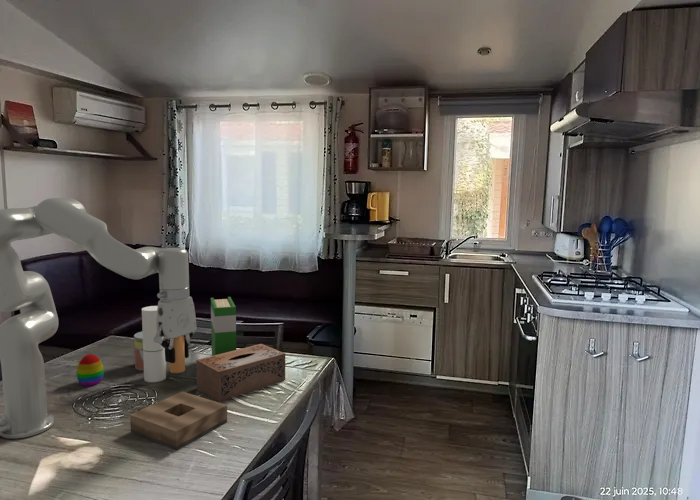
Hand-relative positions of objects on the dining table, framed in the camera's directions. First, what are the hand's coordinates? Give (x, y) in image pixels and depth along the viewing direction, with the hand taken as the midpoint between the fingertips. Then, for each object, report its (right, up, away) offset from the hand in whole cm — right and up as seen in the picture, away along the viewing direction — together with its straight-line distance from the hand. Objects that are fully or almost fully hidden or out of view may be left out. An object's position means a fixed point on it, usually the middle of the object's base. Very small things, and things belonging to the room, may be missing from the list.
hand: (177, 358), depth 134 cm
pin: (0, -3, 0) cm, 3 cm away
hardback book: (-1, -14, +52) cm, 54 cm away
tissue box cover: (+11, -16, +33) cm, 38 cm away
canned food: (-27, -14, +49) cm, 58 cm away
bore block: (0, -20, +2) cm, 20 cm away
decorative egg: (-41, -16, +32) cm, 54 cm away
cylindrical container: (-21, -15, +37) cm, 45 cm away
